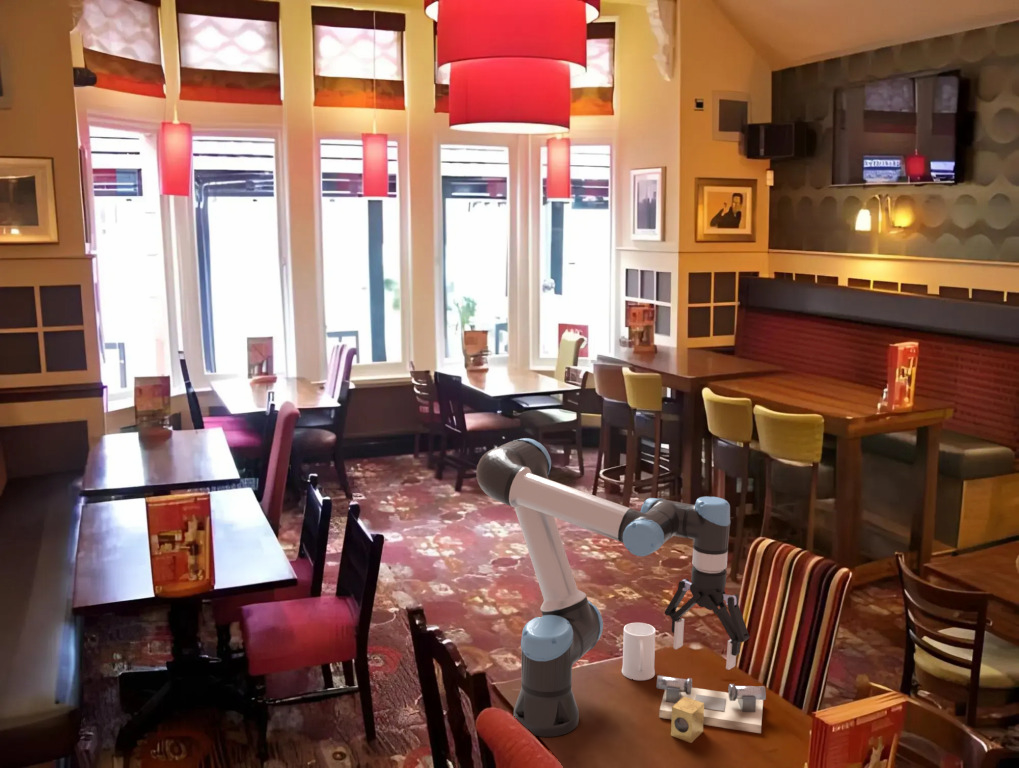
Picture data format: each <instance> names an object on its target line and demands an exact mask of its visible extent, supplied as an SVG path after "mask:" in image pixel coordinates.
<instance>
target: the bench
mask: <svg viewBox="0 0 1019 768" xmlns="http://www.w3.org/2000/svg"><path fill="white" fill-rule="evenodd" d="M683 697H687V698H690V699H693V700H696V701H699V702H702V703H704V720H703V726H704V725H705V726H710V727H711V726H712V727H717V728H723V729H729V730H737V731H741V732H742V731H743V732H749V733H755V734H756V733H757V734H762V725H763V724H762V722H763V721H762V720H763V710H764V709H763V708H764V700H756V709H755V712H742V710H741V708H740V705H739V703H738V699H736V700H735V701H730V700H729V694H728V692H726V691H720V690H719V691H718V690H712V689H711V690H710V689H705V688H698V687H692V690H691V695H686V693H685V692H681V697H680V700H681V699H682V698H683ZM675 704H676V703H669V702H666V690H664V692H663V695H662V699H661V703H660V706H659V712H658V713H659V715H658V718H660V719H666V720H672V707H673V706H674V705H675Z"/></svg>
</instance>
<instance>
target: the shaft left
mask: <svg viewBox="0 0 1019 768" xmlns="http://www.w3.org/2000/svg"><path fill="white" fill-rule="evenodd" d="M656 677H657V679H656V689H659V690H664V691H665V690H666V702H669V703H677V702H678V701H679V700H680V697H681V692H685V693H686V695H691V690H692V688H693V678H692V677H687V678H679V677H673V676H672V677H671V676H665V675H657V676H656Z"/></svg>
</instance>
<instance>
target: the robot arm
mask: <svg viewBox="0 0 1019 768" xmlns="http://www.w3.org/2000/svg"><path fill="white" fill-rule="evenodd" d="M551 467H552V459H551V456H550V454H549V452H548V450H547V448H546V447H545V446H544V445H543V444H542V443H540V442H539V441H537V440H535V439H532V438H529V437H528V438H527V437H525V438H524V437H523V438H519V439H513V440H511V441H509V442H507V443H504V444H501V445H500V446H498V447H495V448H494V447H493V448H492V449H490V450H488V451H486V452H485V453H484V454H483V455H482V456H481V458H480V459H479V461H478V464H477V466H476V470H475V471H476V473H475V474H476V480H477V483H478V485H479V487H480V489H481V490H482V491H483V493H485V495H487V496H489V498H491V499H493V500H495V501H496V502H499V503H501V504H504V505H507V506H509V507H513V508H514V511H515V514H516V516H517V520H518V523H519V526H520V529H521V533H522V535H523V539H524V542H525V544H526V548H527V551H528V554H529V557H530V560H531V563H532V567H533V569H534V573H535V576H536V580H537V582H538V585H539V589H540V591H541V595H542V597H543V602H542V604H541V606H540V612H541V614H542V615H541V617H539V616H536V617H534V618H532V619H530V620H529V621H528V622H527V623H525V625H524V626H523V629H522V632H521V639H520V648H521V650H520V651H521V654H520V657H521V665H520V666H521V669H520V670H521V672H520V673H521V682H520V683H521V686H520V687H521V688H520V691H519V694H518V696H517V698H516V702H515V705H514V708H513V717H514V716H515V718H517V719H518V720H519V721H520V722H521V723H522V724H523V725H524V726H525V727H526V728H527V729H529V730H530V731H531V732H532V733H533V734H534V735H533V736H537V737H545V738H546V737H547V738H548V737H550V738H551V737H558V736H559V737H560V736H562V735H563V736H564V735H566V734H568V733H570V732H572V731H573V730H575V729H576V728H577V727H578V725H579V718H580V716H579V715H580V714H579V708H578V705H577V702H576V698H575V695H574V692H573V690H572V681H573V680H572V679H573V678H572V677H573V666H574V665H575V664H576V663H577V662H578V661H579V660H580V659H582V657H584V656H585V655H586V653H588V652H589V651H591V650H592V649H594V647H595V646H596V644H598V642H599V640H600V638H601V636H602V634H603V632H604V631H603V630H604V619H603V616H602V614H601V611H600V610H599V608H598V607H597V606H596V605H594V604H593V603H592V602H591V601H590V600H588V596H587V594H586V592H584V591H582V590H580V589H578V587H577V583H576V580H575V578H574V574H573V571H572V567H571V565H570V562H569V559H568V555H567V552H566V549H565V546H564V544H563V540H562V538H561V537H562V536H561V534H560V531H559V528H558V523H557V521H556V519H557V520H561V521H563V522H566V523H569V524H572V525H574V526H577V527H579V528H582V529H585V530H588V531H590V532H593V533H596V534H598V535H601V536H603V537H606V538H609V539H612V540H615V541H618V542H620V543H623V545H624V547H625V548H626V549H627V550H628V551H629V552H630V554H632V555H634V556H637V557H646V556H649V555H651V554H653V553H655V552H656V551H658V550H659V549H660V548H661V547H662V546H663V545H664V544H665V543H666V542H668V541H669V540H670V539H671V538H673V536H674V537H678V538H685V539H692V541H693V544H692V545H693V546H692V561H691V563H692V567H691V581H690V580H689V579H688V578H684V579H682V580H680V581H679V582H678V587H677V590H676V592H675V593H674V595H673V597H672V598H671V600H670V602H669V604H668V605H667V607H666V609H665V610H664V614H665V615H666V616H668V617H670V619H671V632H672V633H673V650H678V649H680V648H682V647H683V646H684V631H685V629H684V627H685V618H682V617H683V616H684V615H686V614H687V612H688V611H690V610H691V609H692V608H693V607H694V606H695V605H698V607H699V608H705V609H707V610H709V611H713V613H714V615H715V616H717V617H718V619H719V621H720V623H721V625H722V626H723V628H724V630H725V631H726V634H727V635H728V637H729V640H727V645H726V646H727V649H726V664H725V669H726V670H731V669H733V668H735V667H736V660H737V656H738V655H739V654H740V652H741V643H744V642H746V641H747V640H748V639H750V635H749V631H748V628H747V626H746V623H745V620H744V617H743V614H742V610H741V608H740V606H739V596H738V594H736V593H735V594H733V595H731V594H727V593H726V589H725V588H726V586H727V567H728V553H729V540H730V539H729V537H730V527H731V522H732V521H731V505H730V503H729V502H728V500H726V499H725V498H721V497H717V496H709V495H708V496H707V495H706V496H700V497H698V498H697V499H696V501H695V503H694V504H692V503H691V504H690V503H684V502H680V501H674V500H670V499H669V500H668V499H666V498H655V497H649V498H647V499H645V500H644V501H643V504H642V505H641V508H640V511H639V510H636V509H633V508H630V507H628V506H625V505H623V504H619V503H616V502H614V501H611V500H608V499H605V498H603V497H600V496H597V495H593V494H591V493H588V492H585V491H582V490H579V489H577V488H574V487H572V486H568V485H565V484H563V483H560V482H557V481H554V480H551V479H549V475H550V471H551V469H552V468H551ZM689 590H690V591H689ZM688 591H689V592H690V593H691V595H692V596H691V598H689V599H688V600H687V601H686V602H685V604H684V605H682V606H681V607H680V608H679V609H678V607H679V605H680V603H681V602H682V601H683V598H684V597H685V596H686V593H687V592H688ZM677 609H678V610H677Z"/></svg>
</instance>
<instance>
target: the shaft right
mask: <svg viewBox="0 0 1019 768" xmlns="http://www.w3.org/2000/svg"><path fill="white" fill-rule="evenodd" d="M727 693H728V694H729V700H730V701H735V700H736V699H738V703H739V705H740V708H741V710H742V712H755V709H756V700H763V701H765V700H766V698H767V691H766V687H765V685H764V686H763V685H762V686H760V685H759V686H754V685H735V683H729V684H728V692H727Z"/></svg>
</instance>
